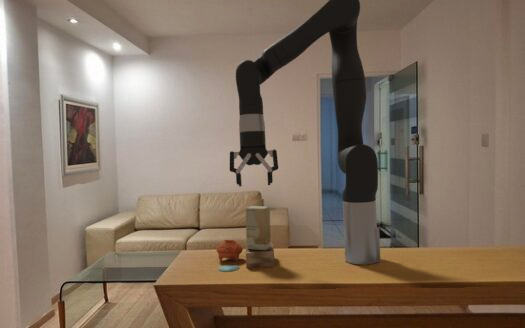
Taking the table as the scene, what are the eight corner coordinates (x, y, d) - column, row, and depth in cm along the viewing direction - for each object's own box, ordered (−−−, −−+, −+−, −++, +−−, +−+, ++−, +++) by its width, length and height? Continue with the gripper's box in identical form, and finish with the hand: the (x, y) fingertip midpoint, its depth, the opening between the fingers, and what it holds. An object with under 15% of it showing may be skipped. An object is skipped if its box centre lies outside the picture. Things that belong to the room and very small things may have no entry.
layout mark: (239, 264, 111) (239, 264, 111) (238, 271, 105) (238, 270, 105) (219, 265, 111) (219, 265, 111) (216, 272, 105) (216, 271, 105)
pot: (217, 256, 122) (221, 235, 121) (241, 261, 121) (245, 240, 121) (211, 262, 114) (216, 240, 113) (237, 268, 113) (241, 245, 113)
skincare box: (246, 249, 112) (244, 207, 112) (252, 246, 116) (250, 205, 116) (266, 250, 110) (264, 208, 109) (272, 247, 114) (270, 205, 113)
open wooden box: (273, 257, 118) (272, 243, 118) (274, 266, 108) (273, 251, 108) (247, 258, 118) (246, 244, 118) (246, 268, 108) (245, 253, 108)
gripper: (227, 131, 109) (229, 187, 109) (277, 128, 109) (279, 185, 109) (228, 132, 116) (231, 185, 117) (275, 130, 117) (278, 183, 117)
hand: (254, 185), depth 113 cm, fingers open, 8 cm apart
